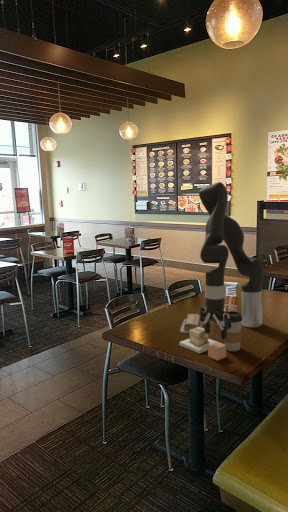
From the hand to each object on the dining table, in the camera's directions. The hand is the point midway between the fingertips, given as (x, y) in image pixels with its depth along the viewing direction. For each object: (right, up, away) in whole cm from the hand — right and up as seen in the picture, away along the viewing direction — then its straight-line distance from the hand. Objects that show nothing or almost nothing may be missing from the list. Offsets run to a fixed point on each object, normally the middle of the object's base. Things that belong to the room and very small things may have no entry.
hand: (215, 335), depth 149 cm
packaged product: (-5, -4, +37) cm, 37 cm away
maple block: (-5, -5, +13) cm, 15 cm away
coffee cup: (+9, -7, +8) cm, 14 cm away
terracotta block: (+1, -9, +1) cm, 9 cm away
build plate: (-4, -7, +13) cm, 16 cm away
